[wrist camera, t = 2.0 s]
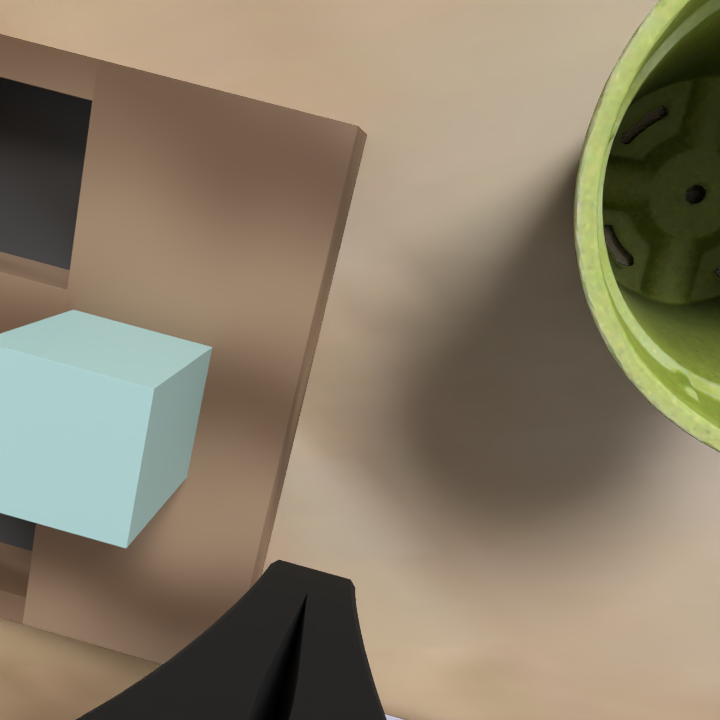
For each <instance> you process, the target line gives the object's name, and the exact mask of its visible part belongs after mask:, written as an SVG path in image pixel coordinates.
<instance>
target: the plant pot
mask: <svg viewBox="0 0 720 720" xmlns="http://www.w3.org/2000/svg"><path fill="white" fill-rule="evenodd" d="M660 106H663V107H665V108H667V109H668V113H667V116H666V117H664V118H662V119H660V120H658V121H657V122H655V123H654V124H652V125H650V126H649V127H647V128H646V129H645V130H643V131H642V132H641V133H640V134H638V135H637V136H636V137H635V138H634V139H633V140H632V141H631V142H630V143H629V144H624V143H622V135H623V133H624V132H625V131H626V130H628V129H629V128H631V127H632V126H633V125H634V124H636V123H638V122H639V120H640V119H641V117H642V116H643V115H644V114H645V113H646V112H648V111H650V110H652V109H655V108H657V107H660ZM694 185H700V186H702V187H703V188H704V189H705V197H704V198H703V200H702V201H700V202H699V203H695V204H690V203H689V202H688V201H687V200H686V192H687V190H688V189H690V188H692V187H693V186H694ZM607 224H608V225H611V226H612V228H613V231H614V233H615V235H616V236H617V239H618V241H619V242H620V244H621V246H622V247H623V248H624V249H625V251H626V252H628V253H629V254H630V255H631V256H632V257H633V261H634V263H633V265H631V266H625V265H623V264H621V263H618V262H617V261H616V259H615V258H614V256H613V253H612V252H611V251H610V249H609V248H608V247H607V245H606V243H605V237H604V229H603V226H604V225H607ZM574 243H575V252H576V258H577V264H578V270H579V276H580V280H581V284H582V287H583V291H584V295H585V299H586V301H587V304H588V307H589V309H590V312H591V315H592V318H593V320H594V322H595V324H596V326H597V329H598V331H599V333H600V335H601V337H602V339H603V341H604V343H605V345H606V346H607V348H608V350H609V352H610V353H611V355H612V356H613V358H614V359H615V361H616V362H617V364H618V365H619V367H620V368H621V369H622V371H623V372H624V374H625V375H626V377H627V378H628V379H629V380H630V381H631V383H632V384H633V385H634V386H635V387H636V388H637V389H638V390H639V392H640V393H641V394H642V395H643V396H644V397H645V398H646V399H647V400H648V401H649V402H650V403H651V404H652V405H653V406H654V407H655V408H656V409H657V410H658V411H660V412H661V413H662V414H663V415H664V416H665V417H667V418H668V419H669V420H670V421H671V422H673V423H674V424H675V425H677V426H678V427H679V428H681V429H682V430H683V431H685V432H686V433H688V434H689V435H691V436H692V437H694V438H696V439H697V440H699V441H700V442H702V443H704V444H706V445H707V446H709V447H711V448H713V449H714V450H716V451H718V452H720V277H717V276H716V275H715V273H714V272H715V270H716V269H718V268H720V0H659V2H658V3H657V4H656V5H655V7H654V8H653V9H652V10H651V12H650V13H649V14H648V16H647V17H646V18H645V20H644V21H643V22H642V24H641V25H640V26H639V27H638V29H637V30H636V32H635V33H634V35H633V36H632V38H631V39H630V41H629V43H628V44H627V46H626V47H625V49H624V51H623V52H622V54H621V56H620V58H619V60H618V62H617V63H616V65H615V67H614V69H613V71H612V73H611V74H610V76H609V78H608V80H607V82H606V84H605V86H604V88H603V91H602V93H601V95H600V98H599V100H598V103H597V105H596V108H595V110H594V113H593V116H592V119H591V121H590V124H589V127H588V130H587V133H586V136H585V141H584V145H583V149H582V153H581V157H580V162H579V167H578V173H577V178H576V187H575V198H574Z"/></svg>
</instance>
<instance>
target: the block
mask: <svg viewBox="0 0 720 720" xmlns="http://www.w3.org/2000/svg"><path fill="white" fill-rule="evenodd" d="M211 352H212V347H210V346H206V345H203V344H199V343H195V342H192V341H188V340H184V339H180V338H177V337H173V336H169V335H166V334H162V333H158V332H155V331H151V330H147V329H143V328H140V327H136V326H132V325H129V324H125V323H121V322H118V321H114V320H110V319H106V318H103V317H99V316H95V315H92V314H88V313H84V312H81V311H77V310H71V311H68V312H65V313H62V314H58V315H55V316H52V317H49V318H46V319H43V320H40V321H37V322H34V323H31V324H28V325H25V326H22V327H19V328H16V329H13V330H10V331H7V332H4V333H1V334H0V513H2V514H6V515H9V516H13V517H17V518H20V519H24V520H27V521H31V522H34V523H38V524H41V525H45V526H48V527H52V528H56V529H59V530H63V531H66V532H70V533H73V534H77V535H80V536H84V537H87V538H91V539H95V540H98V541H102V542H105V543H109V544H112V545H116V546H119V547H123V548H127V547H128V546H129V545H130V544H131V542H132V541H133V540H134V539H135V538H136V536H137V535H138V534H139V533H140V532H141V531H142V529H143V528H144V527H145V526H146V525H147V524H148V522H149V521H150V520H151V519H152V518H153V516H154V515H155V514H156V513H157V512H158V511H159V509H160V508H161V507H162V506H163V505H164V504H165V502H166V501H167V500H168V499H169V498H170V496H171V495H172V494H173V493H174V492H175V491H176V489H177V488H178V487H179V486H180V485H181V483H182V482H183V481H184V480H185V479H186V478H187V474H188V469H189V464H190V459H191V454H192V449H193V443H194V438H195V433H196V428H197V423H198V418H199V413H200V408H201V403H202V398H203V393H204V388H205V382H206V377H207V372H208V367H209V362H210V357H211Z"/></svg>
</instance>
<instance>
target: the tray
mask: <svg viewBox="0 0 720 720" xmlns="http://www.w3.org/2000/svg"><path fill="white" fill-rule="evenodd" d="M366 137H367V134H366V133H365V132H364V131H363V130H362V129H361V128H360V127H359V126H356V125H352V124H348V123H344V122H340V121H337V120H333V119H329V118H325V117H321V116H317V115H313V114H309V113H305V112H301V111H298V110H294V109H290V108H286V107H282V106H278V105H274V104H270V103H266V102H263V101H259V100H255V99H251V98H247V97H243V96H239V95H235V94H231V93H227V92H224V91H220V90H216V89H212V88H208V87H204V86H200V85H196V84H192V83H189V82H185V81H181V80H177V79H173V78H169V77H165V76H161V75H157V74H153V73H150V72H146V71H142V70H138V69H134V68H130V67H126V66H122V65H118V64H115V63H111V62H107V61H103V60H99V59H95V58H91V57H87V56H83V55H79V54H76V53H72V52H68V51H64V50H60V49H56V48H52V47H48V46H44V45H40V44H37V43H33V42H29V41H25V40H21V39H17V38H13V37H9V36H5V35H2V34H0V334H1V333H4V332H7V331H10V330H13V329H16V328H19V327H22V326H25V325H28V324H31V323H34V322H37V321H40V320H43V319H46V318H49V317H52V316H55V315H58V314H62V313H65V312H68V311H71V310H77V311H81V312H84V313H88V314H92V315H95V316H99V317H103V318H106V319H110V320H114V321H118V322H121V323H125V324H129V325H132V326H136V327H140V328H143V329H147V330H151V331H155V332H158V333H162V334H166V335H169V336H173V337H177V338H180V339H184V340H188V341H192V342H195V343H199V344H203V345H206V346H210V347H212V352H211V357H210V362H209V367H208V372H207V377H206V382H205V388H204V393H203V398H202V403H201V408H200V413H199V418H198V423H197V428H196V433H195V438H194V443H193V449H192V454H191V459H190V464H189V469H188V474H187V478H186V479H185V480H184V481H183V482H182V483H181V485H180V486H179V487H178V488H177V489H176V491H175V492H174V493H173V494H172V495H171V496H170V498H169V499H168V500H167V501H166V502H165V504H164V505H163V506H162V507H161V508H160V509H159V511H158V512H157V513H156V514H155V515H154V516H153V518H152V519H151V520H150V521H149V522H148V524H147V525H146V526H145V527H144V528H143V529H142V531H141V532H140V533H139V534H138V535H137V536H136V538H135V539H134V540H133V541H132V542H131V544H130V545H129V546H128V547H127V548H123V547H119V546H116V545H112V544H109V543H105V542H102V541H98V540H95V539H91V538H87V537H84V536H80V535H77V534H73V533H70V532H66V531H63V530H59V529H56V528H52V527H48V526H45V525H41V524H38V523H34V522H31V521H27V520H24V519H20V518H17V517H13V516H9V515H6V514H2V513H0V618H3V619H7V620H10V621H14V622H17V623H21V624H24V625H28V626H31V627H35V628H38V629H41V630H45V631H48V632H52V633H55V634H59V635H62V636H66V637H69V638H73V639H76V640H80V641H83V642H87V643H90V644H94V645H97V646H101V647H104V648H108V649H111V650H114V651H118V652H121V653H125V654H128V655H132V656H135V657H139V658H142V659H146V660H149V661H153V662H156V663H160V664H164V663H165V662H167V661H168V660H170V659H171V658H172V657H173V656H175V655H176V654H177V653H178V652H180V651H181V650H182V649H183V648H185V647H186V646H187V645H188V644H190V643H191V642H192V641H193V640H195V639H196V638H197V637H198V636H200V635H201V634H202V633H203V632H205V631H206V630H207V629H208V628H209V627H210V626H212V625H213V624H214V623H215V622H216V621H217V620H218V619H219V618H220V617H221V616H222V615H224V614H225V613H226V612H227V611H228V610H229V609H230V608H231V607H232V606H233V605H234V604H235V603H236V602H238V601H239V600H240V598H241V597H242V596H243V595H244V594H245V593H246V592H247V591H248V590H249V589H250V588H251V587H252V586H253V585H254V584H255V583H256V582H257V581H258V579H259V578H260V577H261V575H262V571H263V566H264V562H265V558H266V554H267V550H268V545H269V541H270V537H271V533H272V529H273V525H274V520H275V516H276V512H277V508H278V504H279V500H280V495H281V491H282V487H283V483H284V479H285V475H286V470H287V466H288V462H289V458H290V454H291V450H292V445H293V441H294V437H295V433H296V429H297V425H298V420H299V416H300V412H301V408H302V404H303V399H304V395H305V391H306V387H307V383H308V379H309V374H310V370H311V366H312V362H313V358H314V354H315V349H316V345H317V341H318V337H319V333H320V329H321V324H322V320H323V316H324V312H325V308H326V304H327V299H328V295H329V291H330V287H331V283H332V279H333V274H334V270H335V266H336V262H337V258H338V253H339V249H340V245H341V241H342V237H343V233H344V228H345V224H346V220H347V216H348V212H349V208H350V203H351V199H352V195H353V191H354V187H355V183H356V178H357V174H358V170H359V166H360V162H361V158H362V153H363V149H364V145H365V141H366Z"/></svg>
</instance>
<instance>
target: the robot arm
mask: <svg viewBox="0 0 720 720" xmlns="http://www.w3.org/2000/svg"><path fill="white" fill-rule="evenodd" d="M76 720H403V719H400V718H396V717H393V716H389V715H386V714H385V713H384V711H383V708H382V705H381V702H380V699H379V696H378V693H377V690H376V687H375V684H374V681H373V677H372V673H371V670H370V666H369V663H368V659H367V655H366V652H365V648H364V644H363V639H362V635H361V630H360V625H359V620H358V614H357V607H356V598H355V587H354V585H353V583H352V581H351V580H350V579H346V578H343V577H339V576H336V575H332V574H328V573H325V572H321V571H318V570H314V569H310V568H307V567H303V566H300V565H296V564H293V563H289V562H285V561H282V560H278V561H276V562H274V563H272V564H270V566H269V567H268V569H267V570H266V571H265V572H264V574H263V575H262V576H261V577H260V578H259V579H258V581H257V582H256V583H255V584H254V585H253V586H252V587H251V588H250V589H249V590H248V591H247V592H246V593H245V594H244V595H243V596H242V597H241V598H240V600H239V601H238V602H236V603H235V604H234V605H233V606H232V607H231V608H230V609H229V610H228V611H227V612H226V613H225V614H224V615H222V616H221V617H220V618H219V619H218V620H217V621H216V622H215V623H214V624H213V625H212V626H210V627H209V628H208V629H207V630H206V631H205V632H203V633H202V634H201V635H200V636H198V637H197V638H196V639H195V640H193V641H192V642H191V643H190V644H188V645H187V646H186V647H185V648H183V649H182V650H181V651H180V652H178V653H177V654H176V655H175V656H173V657H172V658H171V659H170V660H168V661H167V662H165V663H164V664H163V665H161V666H160V667H159V668H157V669H156V670H154V671H153V672H152V673H150V674H149V675H147V676H146V677H144V678H143V679H141V680H140V681H138V682H137V683H135V684H134V685H132V686H131V687H129V688H128V689H126V690H125V691H123V692H122V693H120V694H119V695H117V696H115V697H114V698H112V699H110V700H109V701H107V702H105V703H104V704H102V705H100V706H98V707H97V708H95V709H93V710H92V711H90V712H88V713H86V714H85V715H83V716H81V717H80V718H78V719H76Z"/></svg>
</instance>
